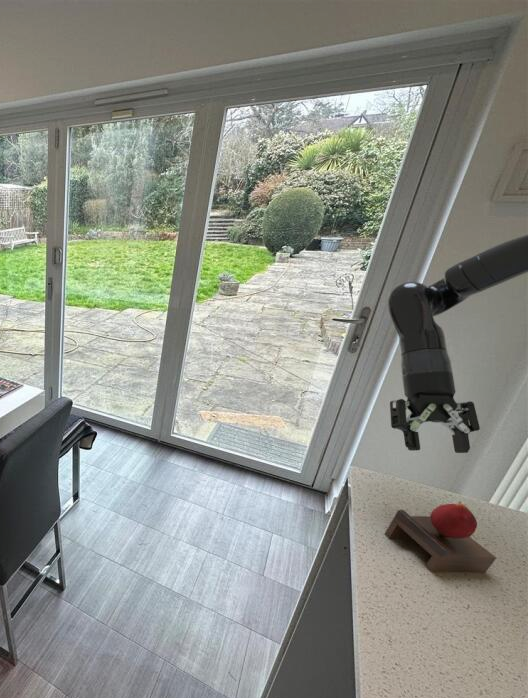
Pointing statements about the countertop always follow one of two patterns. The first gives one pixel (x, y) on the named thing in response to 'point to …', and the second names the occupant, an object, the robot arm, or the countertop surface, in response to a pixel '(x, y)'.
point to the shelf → (441, 545)
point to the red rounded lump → (453, 520)
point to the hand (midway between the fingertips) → (438, 451)
